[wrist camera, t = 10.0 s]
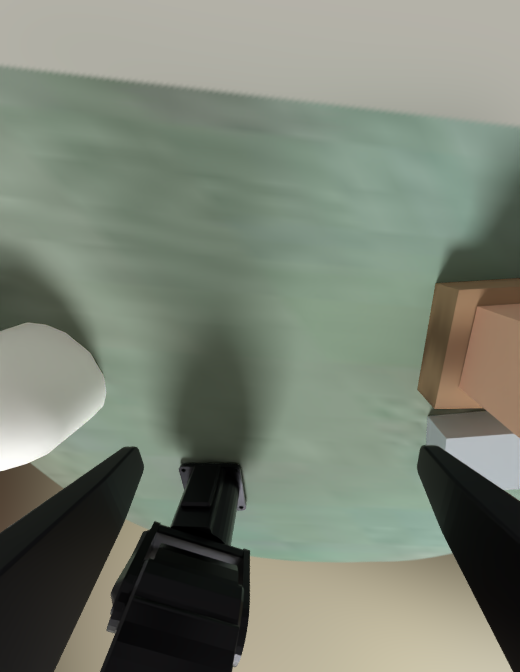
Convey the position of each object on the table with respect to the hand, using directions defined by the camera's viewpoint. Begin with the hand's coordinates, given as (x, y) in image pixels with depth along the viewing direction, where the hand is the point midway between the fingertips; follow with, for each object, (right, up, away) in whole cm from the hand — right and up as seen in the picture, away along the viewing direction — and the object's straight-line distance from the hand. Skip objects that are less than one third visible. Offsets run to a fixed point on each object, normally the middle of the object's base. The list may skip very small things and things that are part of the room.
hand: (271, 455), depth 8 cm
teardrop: (-20, 0, +16) cm, 26 cm away
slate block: (+18, -6, +15) cm, 24 cm away
